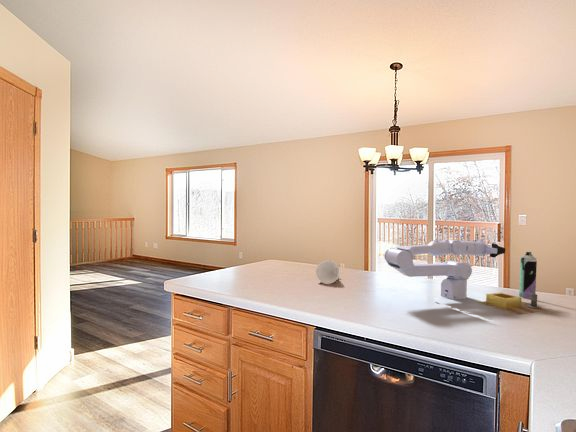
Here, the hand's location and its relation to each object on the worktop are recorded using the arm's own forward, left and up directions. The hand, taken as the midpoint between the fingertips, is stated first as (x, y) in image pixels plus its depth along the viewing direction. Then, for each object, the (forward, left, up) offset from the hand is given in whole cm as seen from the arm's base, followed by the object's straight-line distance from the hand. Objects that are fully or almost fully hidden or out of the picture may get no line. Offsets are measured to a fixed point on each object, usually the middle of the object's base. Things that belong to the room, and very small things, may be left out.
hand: (496, 249), depth 146 cm
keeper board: (-9, -15, -20) cm, 27 cm away
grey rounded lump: (-50, +50, -21) cm, 74 cm away
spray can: (+9, -8, -21) cm, 24 cm away
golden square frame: (-12, -13, -19) cm, 26 cm away
